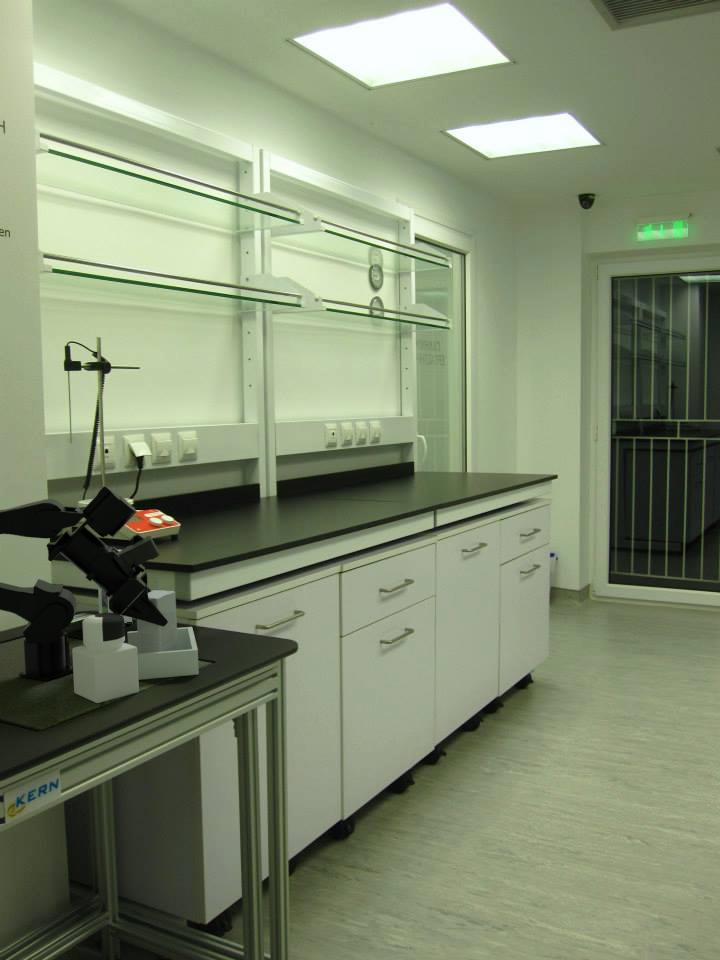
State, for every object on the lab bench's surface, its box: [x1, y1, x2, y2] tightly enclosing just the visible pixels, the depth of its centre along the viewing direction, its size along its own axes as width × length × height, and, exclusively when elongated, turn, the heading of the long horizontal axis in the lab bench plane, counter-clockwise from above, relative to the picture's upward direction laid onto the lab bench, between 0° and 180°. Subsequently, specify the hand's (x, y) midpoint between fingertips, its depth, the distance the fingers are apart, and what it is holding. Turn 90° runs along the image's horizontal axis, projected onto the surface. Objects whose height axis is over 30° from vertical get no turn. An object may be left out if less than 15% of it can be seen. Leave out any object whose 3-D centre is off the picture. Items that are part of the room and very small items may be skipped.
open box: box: [127, 626, 200, 681], centre depth 151 cm, size 11×16×4 cm
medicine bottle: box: [71, 612, 140, 704], centre depth 136 cm, size 7×7×12 cm
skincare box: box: [136, 589, 178, 654], centre depth 150 cm, size 6×4×12 cm
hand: (165, 619), depth 150 cm, fingers closed on skincare box, 7 cm apart
